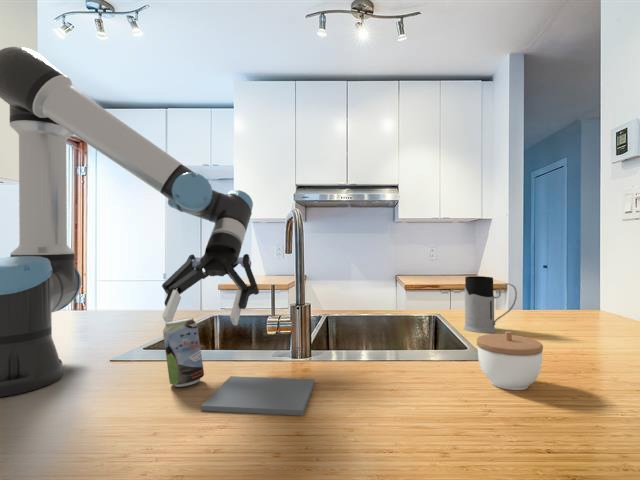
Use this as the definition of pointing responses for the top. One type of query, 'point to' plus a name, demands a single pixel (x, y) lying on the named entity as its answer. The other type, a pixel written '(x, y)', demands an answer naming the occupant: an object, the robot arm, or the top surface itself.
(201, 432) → the top surface
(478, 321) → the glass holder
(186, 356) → the beverage can
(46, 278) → the robot arm
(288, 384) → the rubber mat
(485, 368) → the lidded jar
